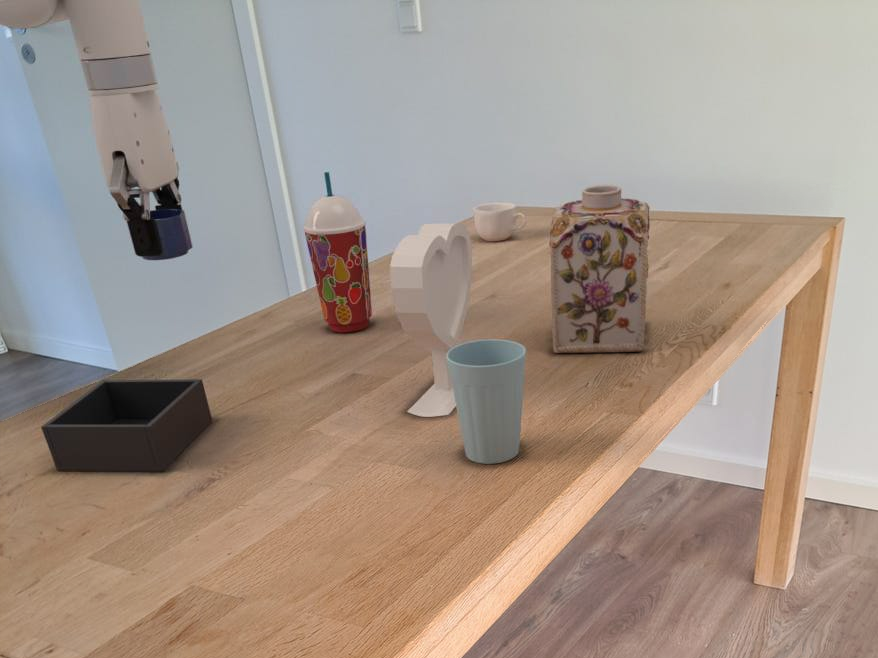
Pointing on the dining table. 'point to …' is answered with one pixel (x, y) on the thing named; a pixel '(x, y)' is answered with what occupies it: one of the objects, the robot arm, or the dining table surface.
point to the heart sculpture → (433, 301)
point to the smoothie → (339, 261)
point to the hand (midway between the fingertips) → (163, 246)
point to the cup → (488, 397)
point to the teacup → (496, 220)
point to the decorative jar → (599, 272)
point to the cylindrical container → (171, 233)
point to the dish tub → (128, 425)
